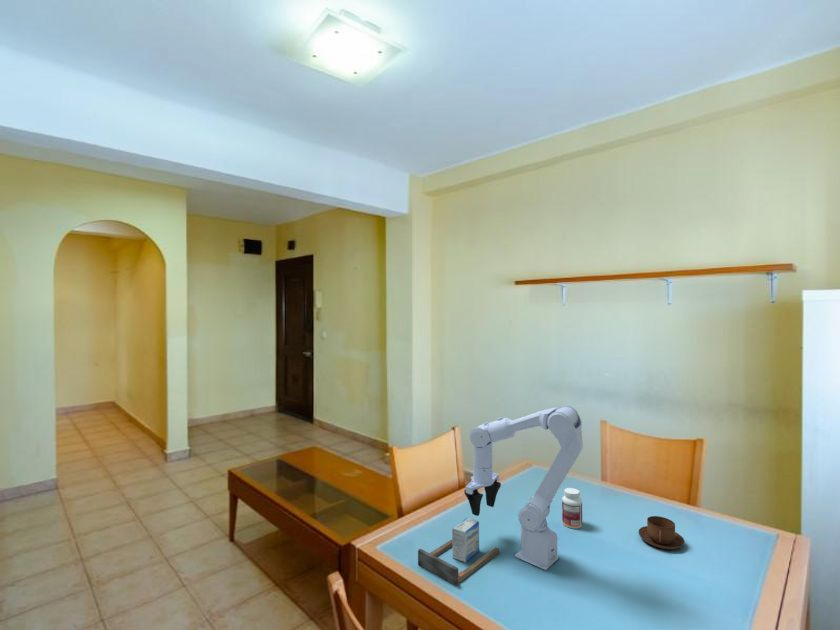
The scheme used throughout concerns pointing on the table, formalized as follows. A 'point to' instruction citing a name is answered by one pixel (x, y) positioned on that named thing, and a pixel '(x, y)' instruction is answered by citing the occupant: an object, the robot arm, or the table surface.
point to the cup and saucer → (661, 533)
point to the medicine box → (465, 539)
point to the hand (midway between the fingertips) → (483, 510)
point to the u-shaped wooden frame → (448, 570)
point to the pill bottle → (572, 508)
